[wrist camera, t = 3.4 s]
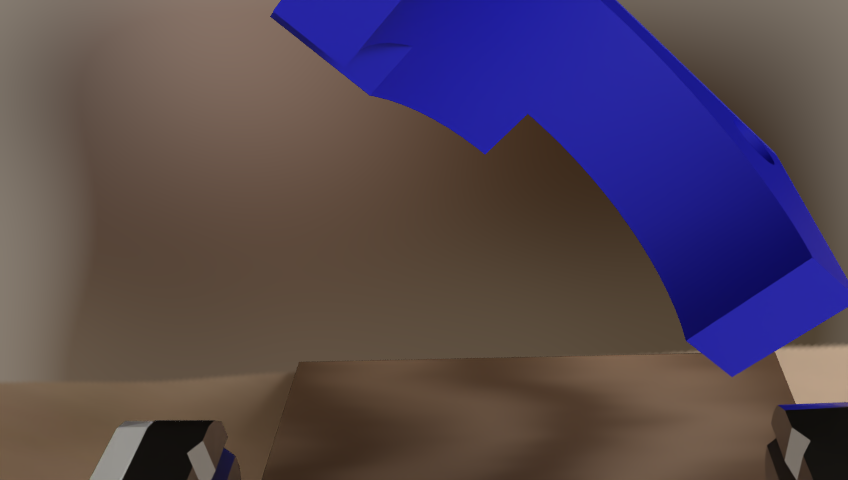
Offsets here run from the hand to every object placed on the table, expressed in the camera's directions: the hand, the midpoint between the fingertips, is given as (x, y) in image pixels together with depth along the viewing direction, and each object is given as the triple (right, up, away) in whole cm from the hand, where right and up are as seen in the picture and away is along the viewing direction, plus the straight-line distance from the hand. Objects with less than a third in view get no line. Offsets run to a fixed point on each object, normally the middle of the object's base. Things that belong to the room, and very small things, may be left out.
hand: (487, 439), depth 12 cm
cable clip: (+2, +7, +8) cm, 11 cm away
